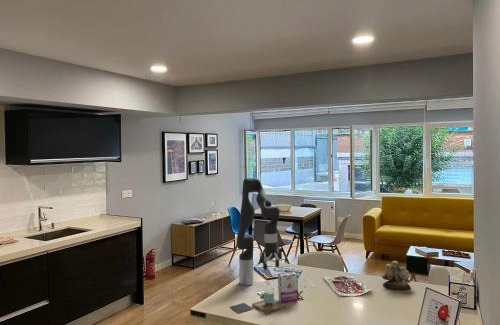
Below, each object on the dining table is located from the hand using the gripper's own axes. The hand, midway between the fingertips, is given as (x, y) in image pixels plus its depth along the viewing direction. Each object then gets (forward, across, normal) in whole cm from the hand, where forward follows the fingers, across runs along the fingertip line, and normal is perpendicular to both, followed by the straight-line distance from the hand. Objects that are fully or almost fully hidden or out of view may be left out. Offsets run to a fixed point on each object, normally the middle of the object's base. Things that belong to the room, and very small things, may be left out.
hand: (271, 268), depth 217 cm
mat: (+23, +16, -9) cm, 29 cm away
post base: (+23, +2, 0) cm, 23 cm away
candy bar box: (+23, -13, -1) cm, 27 cm away
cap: (+19, +2, 0) cm, 19 cm away
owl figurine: (+23, -84, +24) cm, 90 cm away
